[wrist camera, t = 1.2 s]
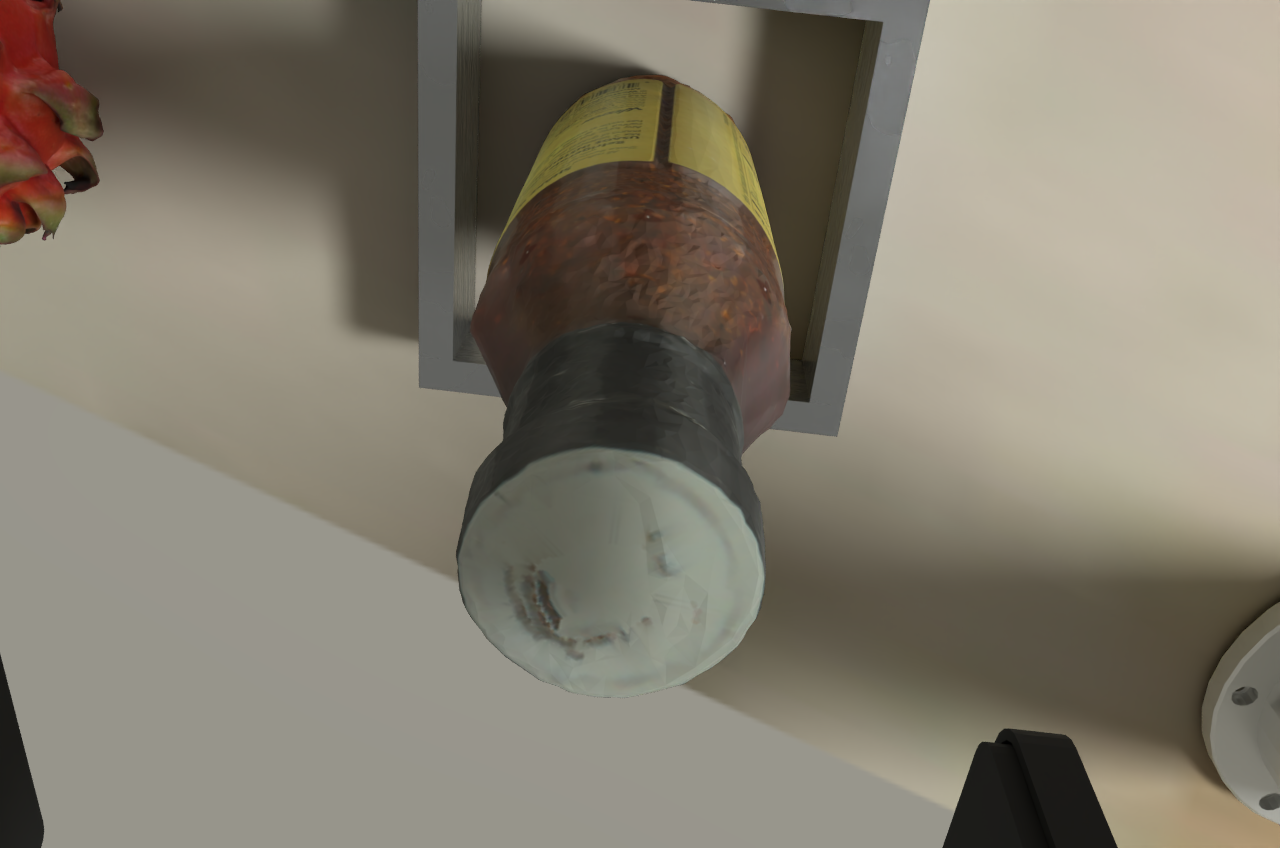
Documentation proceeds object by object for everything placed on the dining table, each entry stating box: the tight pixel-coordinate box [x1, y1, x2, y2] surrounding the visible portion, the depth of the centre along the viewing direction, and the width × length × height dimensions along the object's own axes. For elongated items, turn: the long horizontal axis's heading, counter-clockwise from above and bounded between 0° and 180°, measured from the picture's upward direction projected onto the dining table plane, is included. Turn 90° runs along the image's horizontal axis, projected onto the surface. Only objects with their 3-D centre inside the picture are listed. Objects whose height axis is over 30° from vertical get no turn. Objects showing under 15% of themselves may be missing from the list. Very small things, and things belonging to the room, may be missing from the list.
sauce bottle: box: [456, 75, 791, 698], centre depth 22 cm, size 6×6×20 cm
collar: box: [418, 0, 930, 437], centre depth 29 cm, size 12×12×3 cm
